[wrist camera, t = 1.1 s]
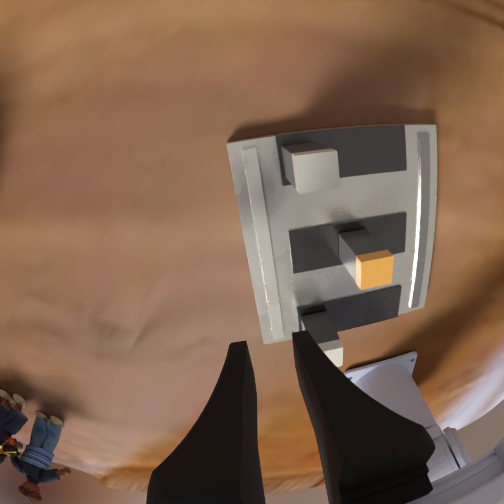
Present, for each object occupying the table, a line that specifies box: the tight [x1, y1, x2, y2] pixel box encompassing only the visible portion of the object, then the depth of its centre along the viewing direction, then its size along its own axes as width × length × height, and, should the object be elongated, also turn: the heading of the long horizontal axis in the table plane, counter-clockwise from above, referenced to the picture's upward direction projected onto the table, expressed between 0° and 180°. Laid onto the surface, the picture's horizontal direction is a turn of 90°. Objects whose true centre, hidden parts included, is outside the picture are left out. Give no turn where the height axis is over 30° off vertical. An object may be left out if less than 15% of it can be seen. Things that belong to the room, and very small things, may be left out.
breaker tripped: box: [338, 229, 394, 290], centre depth 18 cm, size 2×2×4 cm
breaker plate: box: [226, 123, 437, 344], centre depth 21 cm, size 15×14×1 cm
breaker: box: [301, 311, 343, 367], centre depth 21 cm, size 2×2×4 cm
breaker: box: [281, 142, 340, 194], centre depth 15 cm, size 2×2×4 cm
